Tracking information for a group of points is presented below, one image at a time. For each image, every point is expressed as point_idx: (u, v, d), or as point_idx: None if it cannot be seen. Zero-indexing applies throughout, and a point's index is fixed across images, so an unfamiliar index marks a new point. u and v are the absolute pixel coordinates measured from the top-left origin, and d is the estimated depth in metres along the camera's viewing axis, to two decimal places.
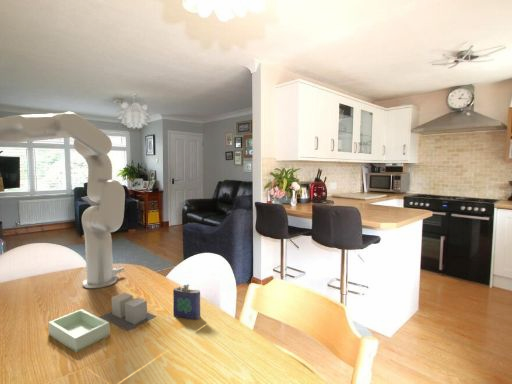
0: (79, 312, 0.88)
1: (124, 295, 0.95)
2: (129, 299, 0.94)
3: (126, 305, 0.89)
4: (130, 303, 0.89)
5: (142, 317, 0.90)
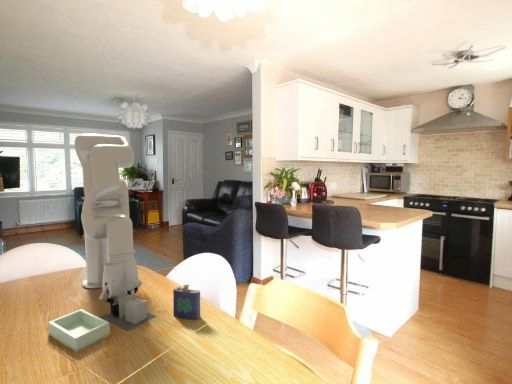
0: (79, 312, 0.88)
1: (124, 295, 0.95)
2: (129, 299, 0.94)
3: (126, 305, 0.89)
4: (130, 303, 0.89)
5: (142, 317, 0.90)
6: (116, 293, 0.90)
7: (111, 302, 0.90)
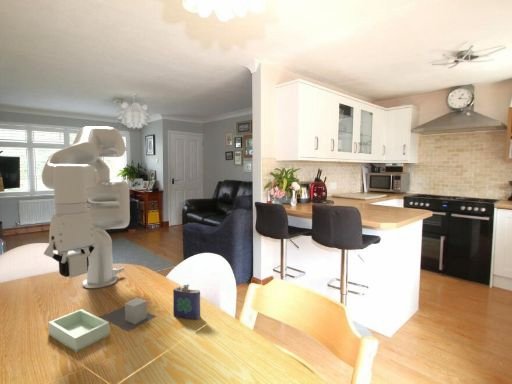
0: (79, 312, 0.88)
1: (77, 254, 0.83)
2: (82, 258, 0.82)
3: (126, 305, 0.89)
4: (130, 303, 0.89)
5: (142, 317, 0.90)
6: (65, 249, 0.78)
7: (59, 259, 0.78)
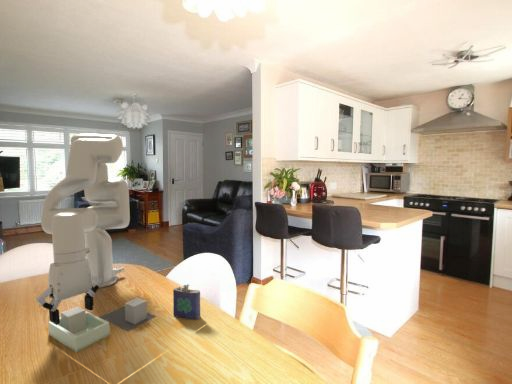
0: None
1: (76, 310, 0.84)
2: (81, 314, 0.83)
3: (126, 305, 0.89)
4: (130, 303, 0.89)
5: (142, 317, 0.90)
6: (63, 297, 0.79)
7: (50, 306, 0.77)
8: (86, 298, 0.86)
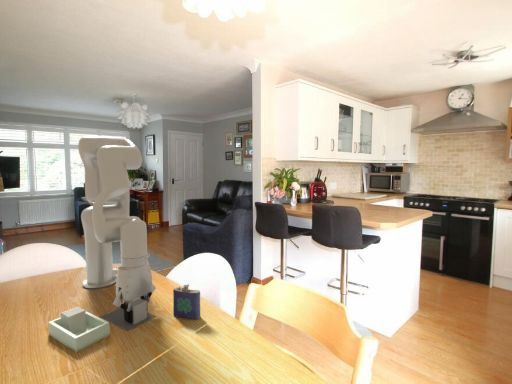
0: None
1: (76, 310, 0.84)
2: (81, 314, 0.83)
3: None
4: None
5: (142, 317, 0.90)
6: (130, 298, 0.86)
7: (125, 308, 0.86)
8: None
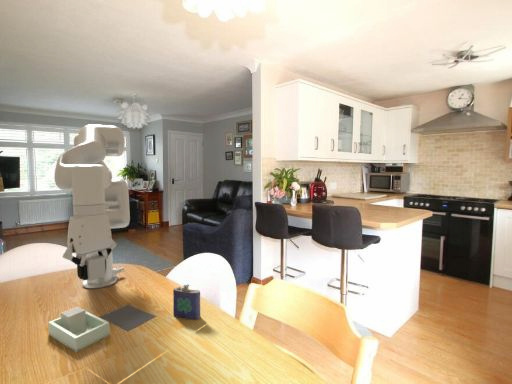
0: None
1: (76, 310, 0.84)
2: (81, 314, 0.83)
3: None
4: None
5: (99, 274, 0.80)
6: (84, 251, 0.76)
7: (78, 262, 0.76)
8: None
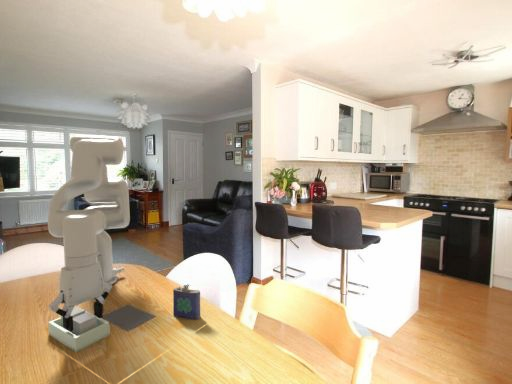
0: None
1: (76, 310, 0.84)
2: (81, 314, 0.83)
3: None
4: (77, 319, 0.79)
5: None
6: (74, 303, 0.76)
7: (63, 313, 0.75)
8: (95, 305, 0.83)
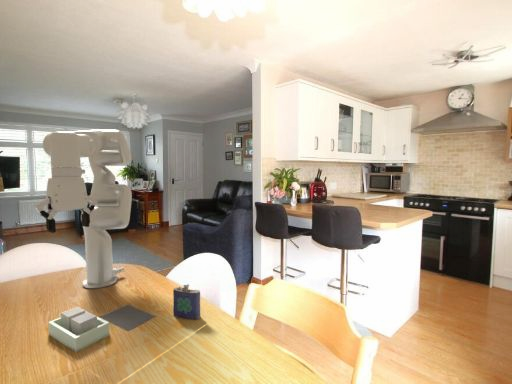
0: None
1: (76, 310, 0.84)
2: (81, 314, 0.83)
3: (72, 321, 0.79)
4: (77, 319, 0.79)
5: None
6: (60, 209, 0.85)
7: (47, 214, 0.84)
8: (83, 215, 0.93)
